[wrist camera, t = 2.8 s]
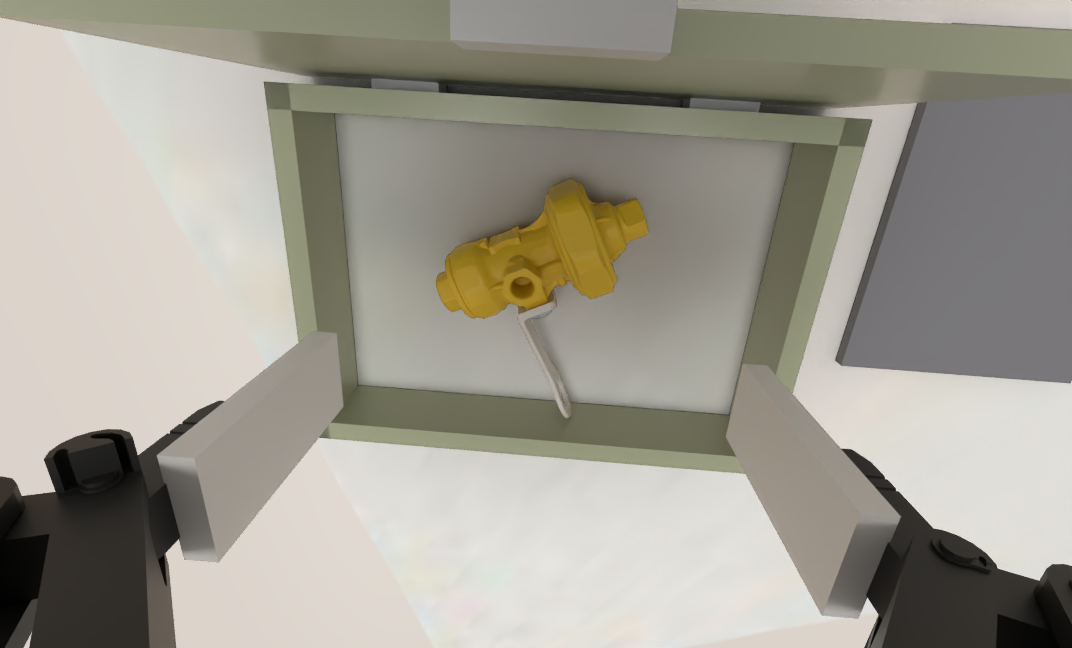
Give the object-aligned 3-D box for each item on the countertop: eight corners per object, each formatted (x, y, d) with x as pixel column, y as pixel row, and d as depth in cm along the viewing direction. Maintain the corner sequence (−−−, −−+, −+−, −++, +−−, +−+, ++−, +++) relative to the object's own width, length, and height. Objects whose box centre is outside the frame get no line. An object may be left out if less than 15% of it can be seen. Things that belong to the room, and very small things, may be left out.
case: (308, 55, 23) (-97, -56, 9) (831, 87, 22) (1284, 19, 8) (343, 398, 30) (145, 638, 16) (742, 431, 29) (905, 713, 15)
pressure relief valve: (429, 228, 25) (616, 149, 23) (522, 396, 31) (677, 343, 29) (406, 273, 20) (638, 179, 19) (521, 462, 26) (707, 404, 24)
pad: (943, 25, 21) (953, 22, 20) (1234, 42, 21) (1252, 39, 20) (835, 360, 27) (841, 365, 27) (1059, 377, 27) (1070, 383, 26)
